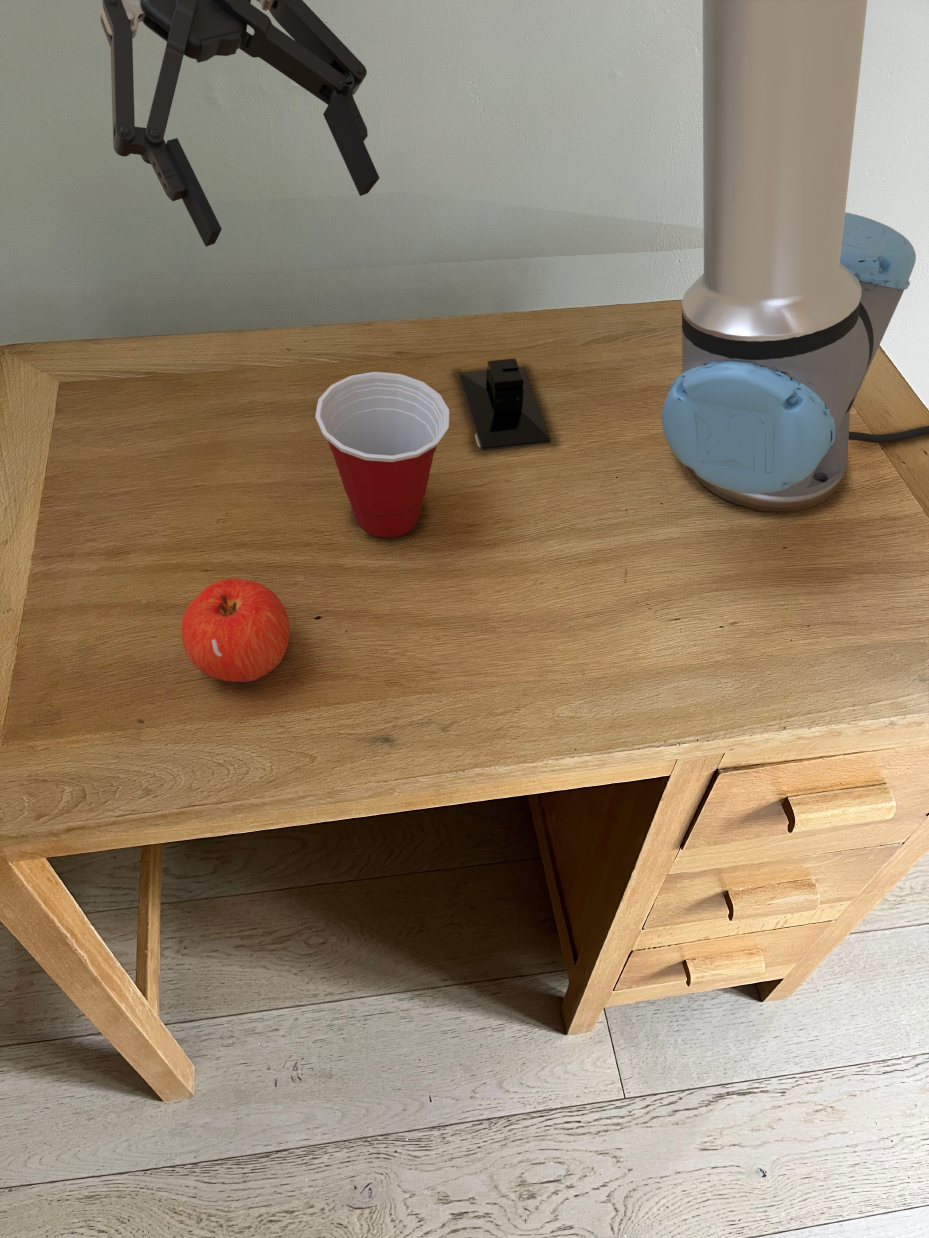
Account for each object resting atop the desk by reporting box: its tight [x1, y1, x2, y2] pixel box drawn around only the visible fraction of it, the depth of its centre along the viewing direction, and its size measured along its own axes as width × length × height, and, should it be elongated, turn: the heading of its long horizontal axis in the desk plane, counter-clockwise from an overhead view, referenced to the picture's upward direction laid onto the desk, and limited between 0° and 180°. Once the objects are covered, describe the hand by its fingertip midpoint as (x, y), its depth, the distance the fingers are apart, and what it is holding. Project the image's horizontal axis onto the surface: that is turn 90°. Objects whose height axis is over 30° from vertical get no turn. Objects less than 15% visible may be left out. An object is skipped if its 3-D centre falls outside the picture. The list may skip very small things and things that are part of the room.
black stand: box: [458, 358, 551, 451], centre depth 87 cm, size 12×7×5 cm, turn 11°
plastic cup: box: [315, 371, 450, 538], centre depth 73 cm, size 11×11×12 cm
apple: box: [180, 578, 291, 683], centre depth 65 cm, size 8×8×8 cm
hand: (295, 212), depth 65 cm, fingers open, 13 cm apart
